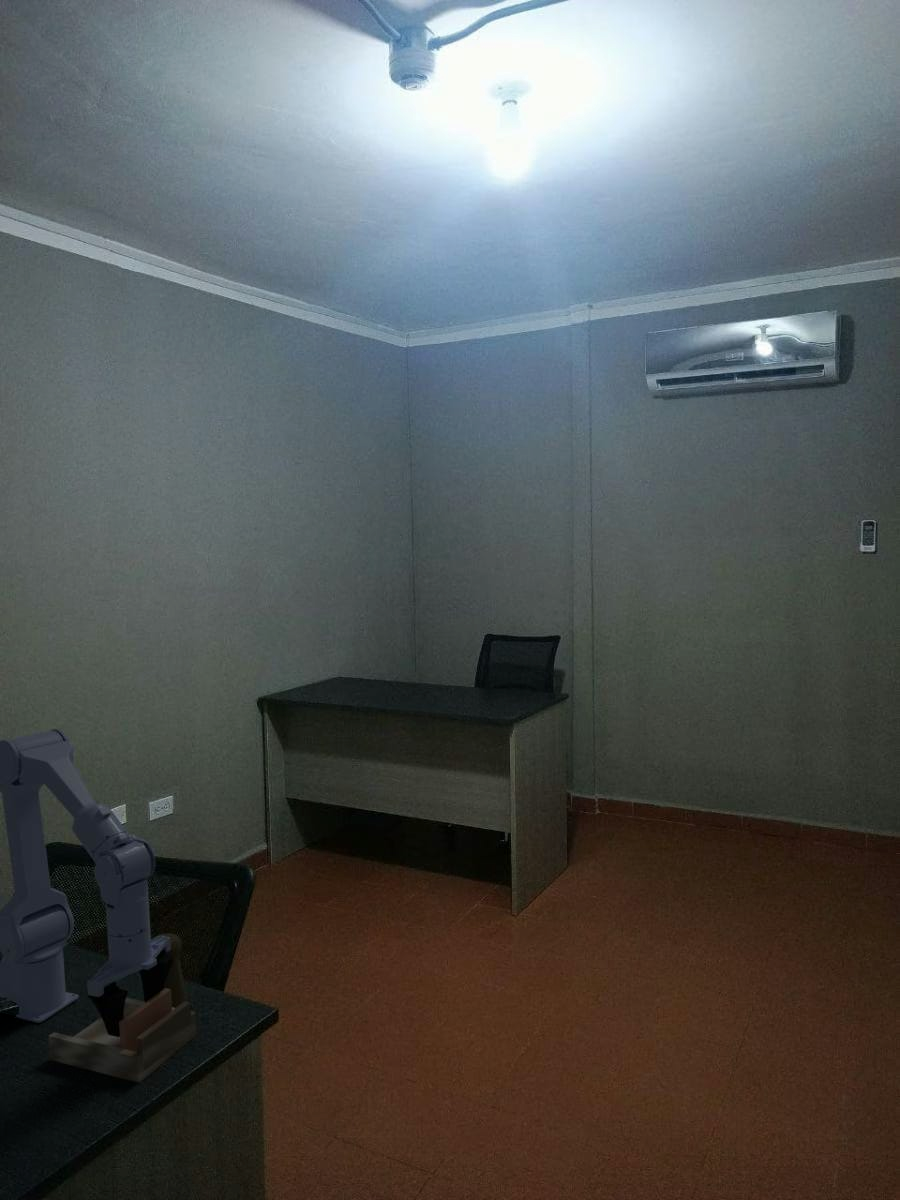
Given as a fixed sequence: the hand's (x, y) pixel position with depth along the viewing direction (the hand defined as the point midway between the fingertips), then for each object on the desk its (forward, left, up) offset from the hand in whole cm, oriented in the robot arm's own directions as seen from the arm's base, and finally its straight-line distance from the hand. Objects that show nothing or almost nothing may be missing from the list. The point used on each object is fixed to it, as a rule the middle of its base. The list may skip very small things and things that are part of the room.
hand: (134, 1020), depth 125 cm
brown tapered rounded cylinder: (-4, +12, -5) cm, 13 cm away
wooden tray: (-2, 0, -4) cm, 5 cm away
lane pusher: (+2, 0, -3) cm, 4 cm away
